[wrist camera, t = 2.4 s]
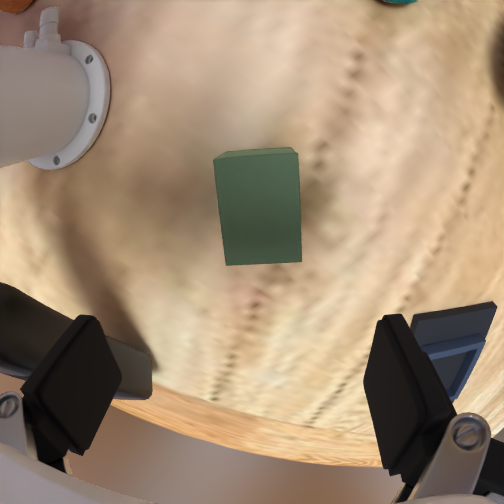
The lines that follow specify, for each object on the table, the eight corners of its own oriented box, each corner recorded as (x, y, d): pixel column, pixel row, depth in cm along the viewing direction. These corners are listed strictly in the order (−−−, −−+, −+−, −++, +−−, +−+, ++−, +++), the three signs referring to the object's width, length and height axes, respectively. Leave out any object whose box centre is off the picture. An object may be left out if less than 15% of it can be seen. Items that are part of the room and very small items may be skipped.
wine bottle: (154, 400, 28) (-137, 293, 2) (114, 399, 29) (-138, 303, 3) (152, 351, 31) (-98, 189, 5) (113, 354, 32) (-112, 220, 6)
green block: (226, 151, 22) (213, 159, 17) (291, 147, 21) (298, 153, 16) (235, 236, 25) (225, 266, 20) (295, 233, 24) (301, 262, 19)
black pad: (413, 314, 27) (423, 330, 24) (492, 301, 26) (504, 313, 23) (381, 414, 34) (385, 429, 32) (449, 398, 33) (455, 411, 31)
